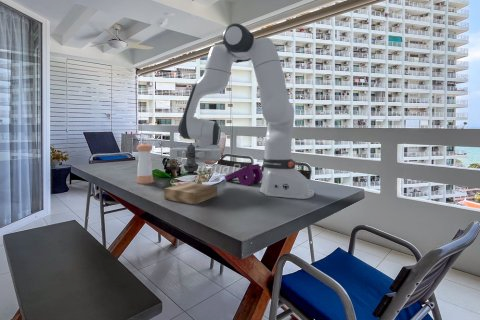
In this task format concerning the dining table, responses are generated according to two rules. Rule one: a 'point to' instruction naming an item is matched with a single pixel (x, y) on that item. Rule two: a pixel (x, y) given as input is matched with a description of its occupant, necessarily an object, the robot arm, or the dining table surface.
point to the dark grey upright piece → (191, 161)
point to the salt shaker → (144, 164)
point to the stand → (190, 192)
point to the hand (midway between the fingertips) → (190, 155)
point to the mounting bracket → (248, 172)
